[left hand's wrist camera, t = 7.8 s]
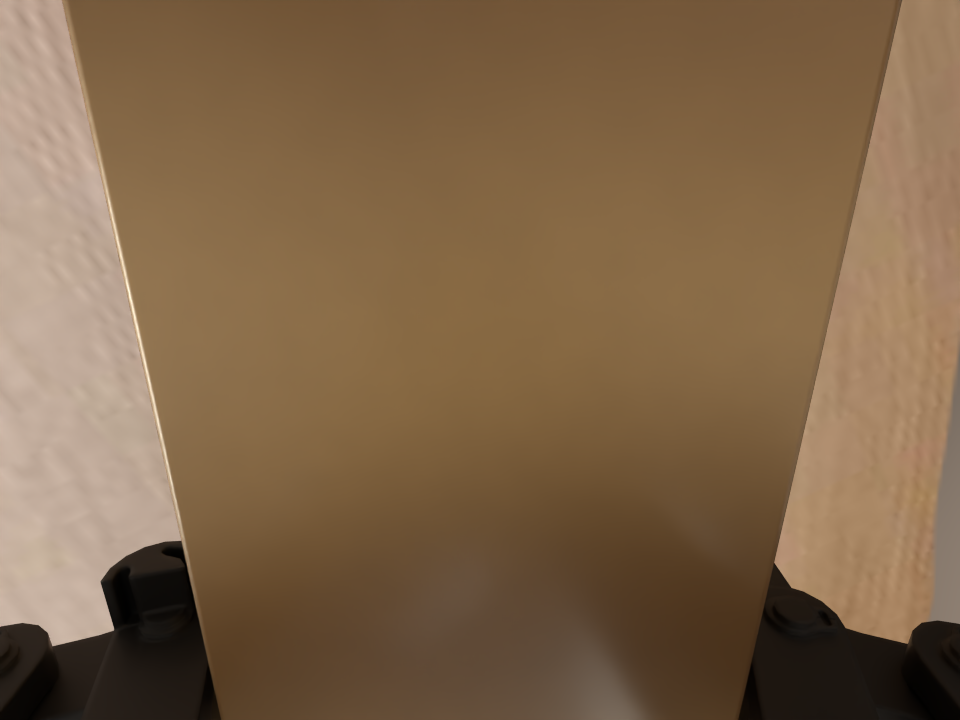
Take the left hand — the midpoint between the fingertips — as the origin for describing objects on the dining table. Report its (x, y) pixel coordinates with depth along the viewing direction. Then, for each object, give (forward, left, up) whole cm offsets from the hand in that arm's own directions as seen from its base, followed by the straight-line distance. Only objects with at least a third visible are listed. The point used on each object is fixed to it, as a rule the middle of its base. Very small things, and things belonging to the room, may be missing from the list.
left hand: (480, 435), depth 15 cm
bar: (+7, 0, -1) cm, 7 cm away
